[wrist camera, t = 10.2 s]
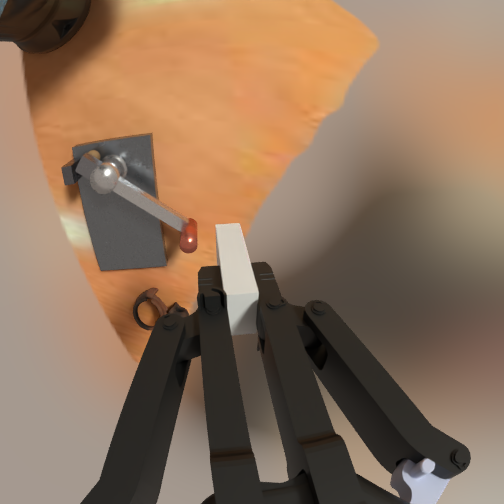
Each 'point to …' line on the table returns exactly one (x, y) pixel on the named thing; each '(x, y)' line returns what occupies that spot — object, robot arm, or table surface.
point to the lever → (135, 196)
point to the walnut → (95, 154)
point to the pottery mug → (158, 303)
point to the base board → (121, 206)
